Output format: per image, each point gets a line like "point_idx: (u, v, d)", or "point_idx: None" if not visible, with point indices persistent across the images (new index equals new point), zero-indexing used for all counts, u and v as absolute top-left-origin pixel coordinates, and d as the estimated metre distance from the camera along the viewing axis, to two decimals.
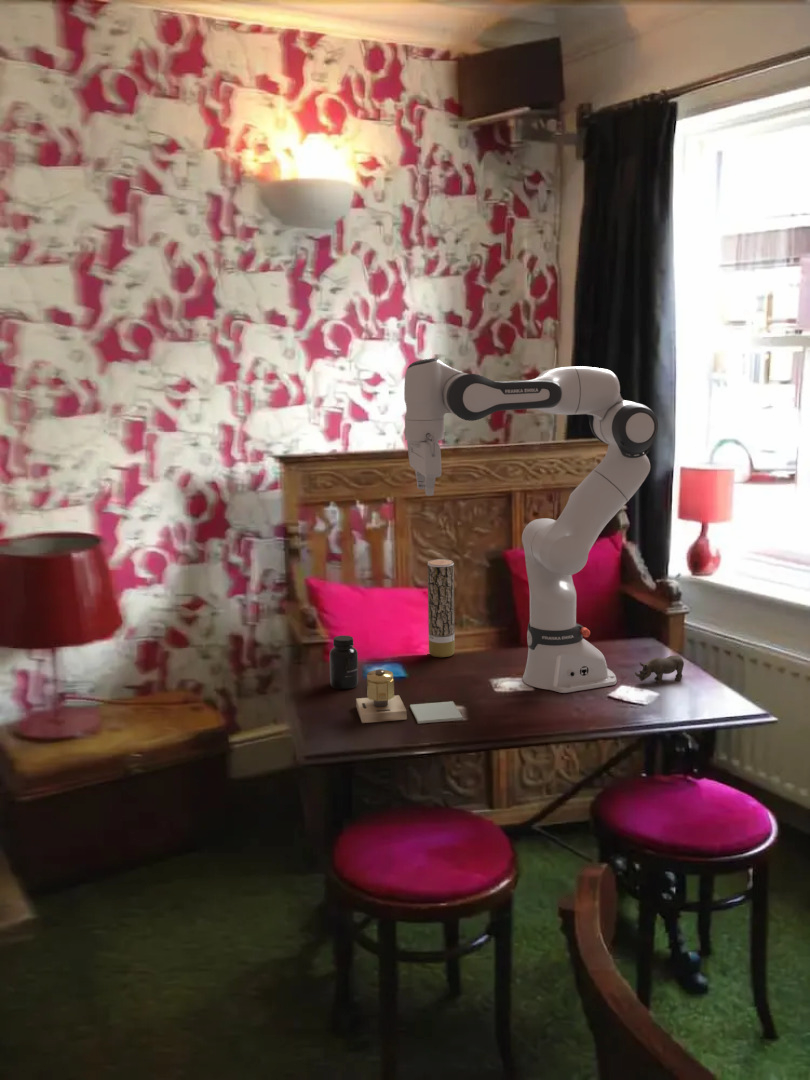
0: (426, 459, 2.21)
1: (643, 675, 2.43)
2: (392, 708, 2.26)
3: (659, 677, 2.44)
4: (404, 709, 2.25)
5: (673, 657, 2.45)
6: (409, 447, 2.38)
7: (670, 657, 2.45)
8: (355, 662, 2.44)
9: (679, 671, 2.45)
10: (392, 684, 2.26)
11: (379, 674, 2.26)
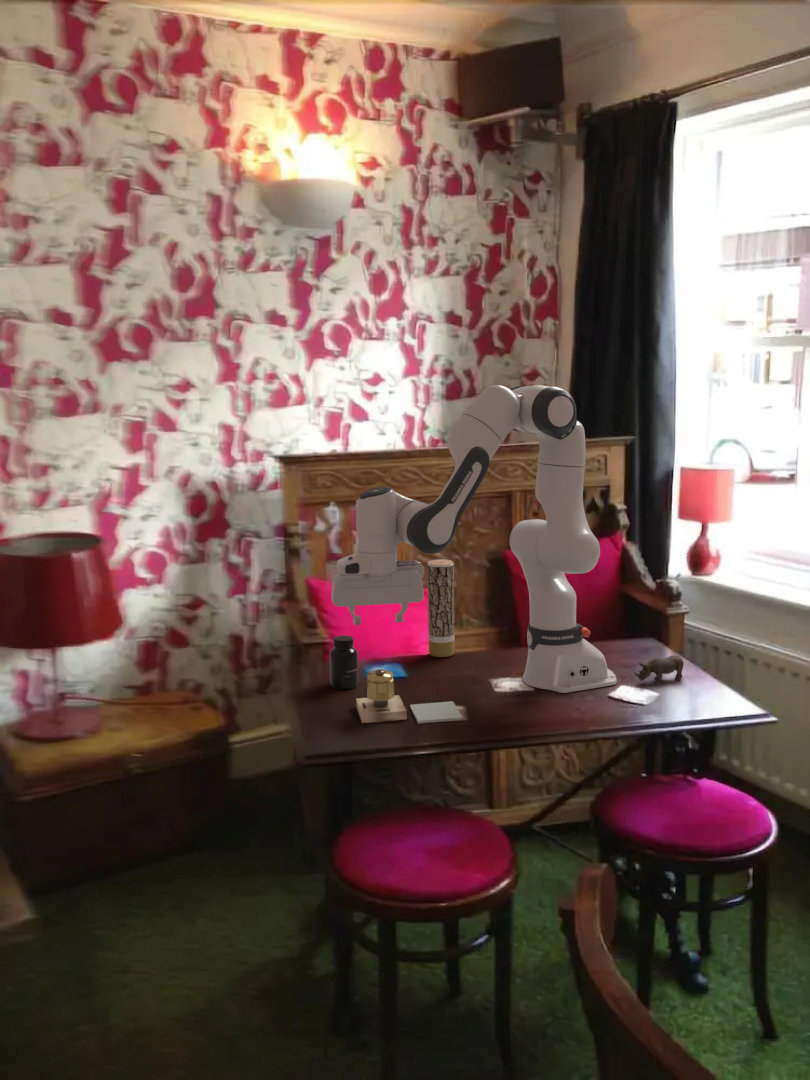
0: (422, 584, 2.23)
1: (643, 675, 2.43)
2: (392, 708, 2.26)
3: (659, 677, 2.44)
4: (404, 709, 2.25)
5: (673, 657, 2.45)
6: (342, 585, 2.19)
7: (670, 657, 2.45)
8: (355, 662, 2.44)
9: (679, 671, 2.45)
10: (392, 684, 2.26)
11: (379, 674, 2.26)
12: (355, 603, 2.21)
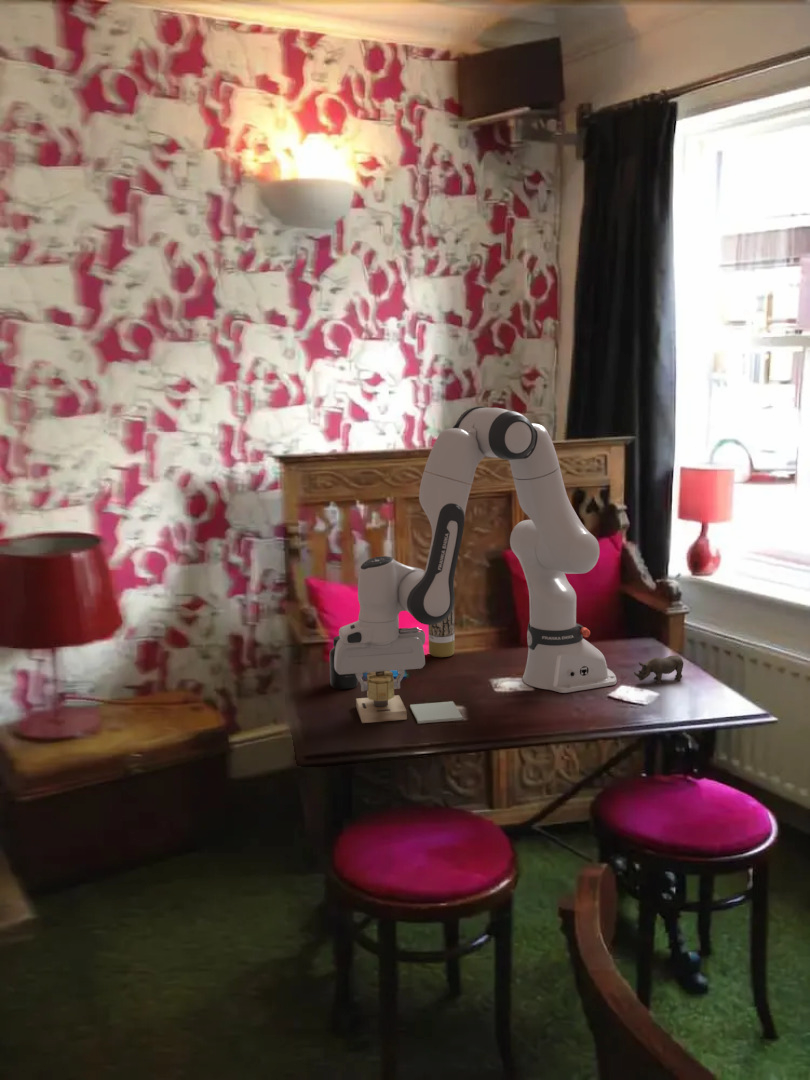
0: (423, 650, 2.26)
1: (642, 675, 2.43)
2: (392, 708, 2.26)
3: (658, 677, 2.44)
4: (404, 709, 2.25)
5: (673, 657, 2.45)
6: (344, 654, 2.22)
7: (670, 657, 2.45)
8: None
9: (678, 671, 2.45)
10: (392, 684, 2.26)
11: (379, 674, 2.26)
12: (357, 671, 2.24)
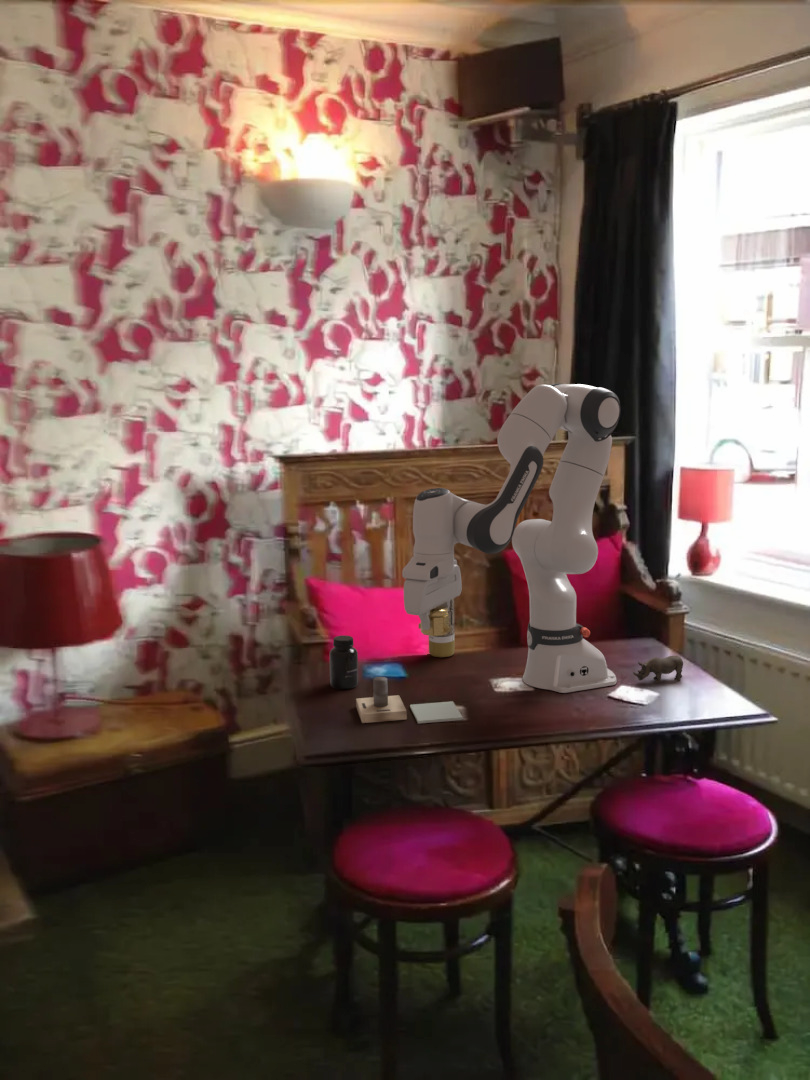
0: None
1: (641, 675, 2.44)
2: (392, 708, 2.26)
3: (658, 677, 2.44)
4: (404, 709, 2.25)
5: (672, 657, 2.45)
6: (424, 592, 2.14)
7: (669, 657, 2.45)
8: (355, 662, 2.44)
9: (678, 671, 2.45)
10: None
11: (437, 608, 2.22)
12: (430, 608, 2.17)
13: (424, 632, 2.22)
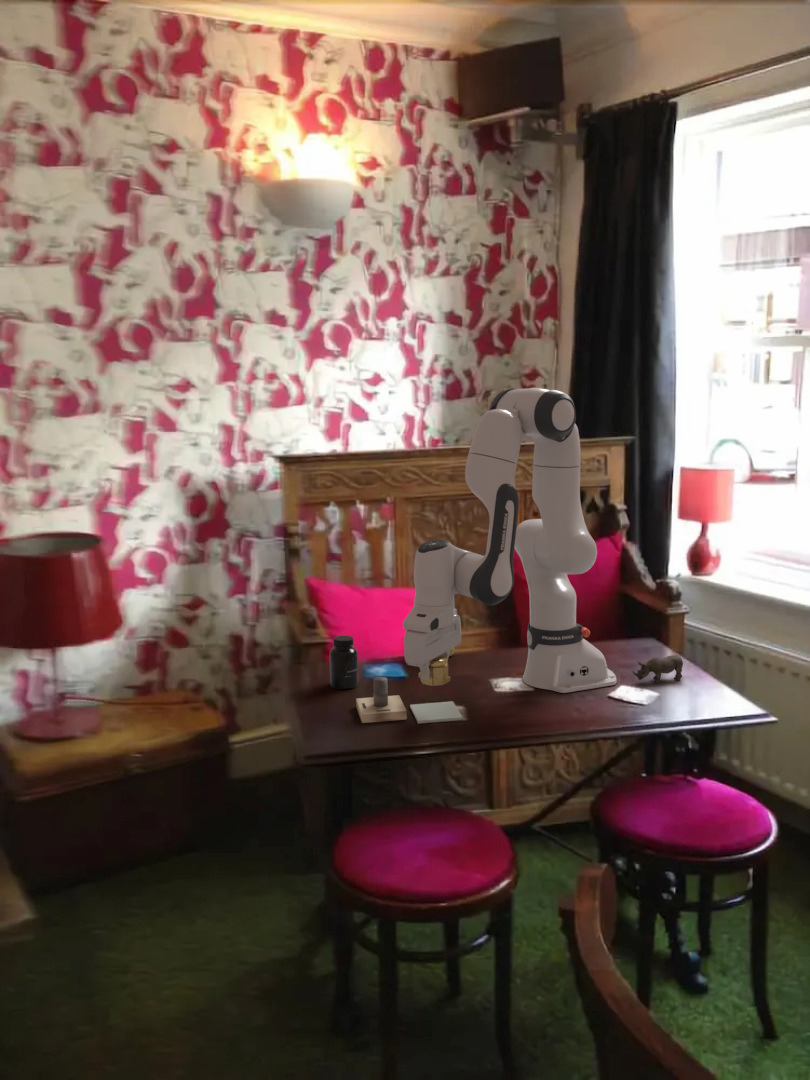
0: None
1: (641, 674, 2.44)
2: (392, 708, 2.26)
3: (657, 676, 2.45)
4: (404, 709, 2.25)
5: (672, 657, 2.45)
6: (424, 644, 2.16)
7: (669, 657, 2.45)
8: (355, 662, 2.44)
9: (678, 671, 2.45)
10: None
11: (437, 658, 2.24)
12: (430, 659, 2.19)
13: (424, 682, 2.24)
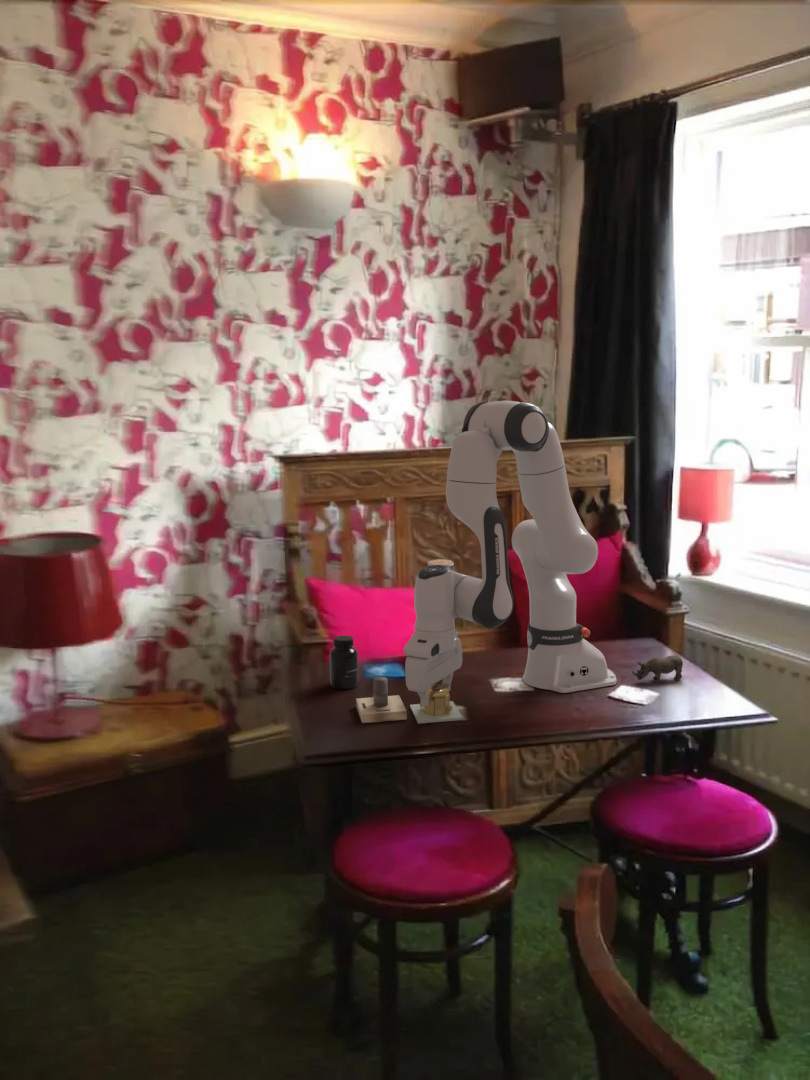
0: None
1: (640, 674, 2.44)
2: (392, 708, 2.26)
3: (657, 677, 2.45)
4: (404, 709, 2.25)
5: (672, 657, 2.45)
6: (425, 670, 2.17)
7: (669, 657, 2.45)
8: (355, 662, 2.44)
9: (678, 671, 2.45)
10: None
11: (438, 688, 2.26)
12: (431, 684, 2.21)
13: (425, 712, 2.26)
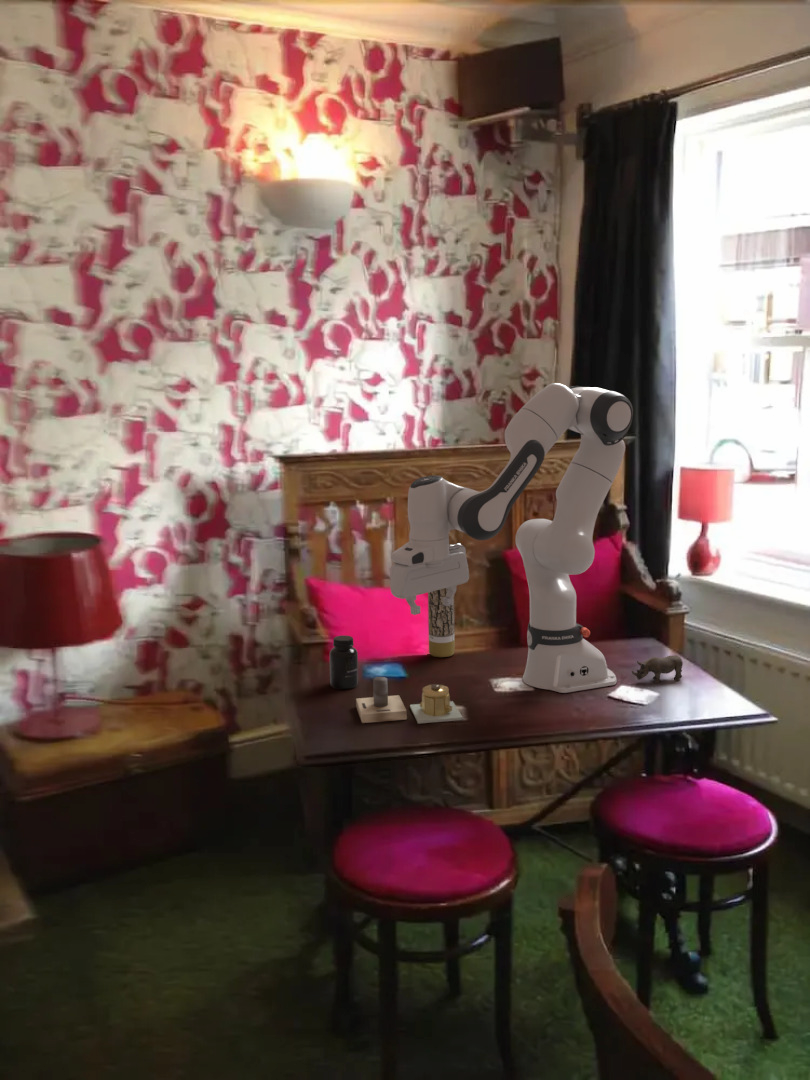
0: (467, 564, 2.31)
1: (640, 674, 2.44)
2: (392, 708, 2.26)
3: (657, 676, 2.45)
4: (404, 709, 2.25)
5: (672, 657, 2.45)
6: (407, 577, 2.20)
7: (669, 657, 2.45)
8: (355, 662, 2.44)
9: (677, 671, 2.45)
10: None
11: (438, 688, 2.26)
12: (417, 592, 2.23)
13: (425, 712, 2.26)
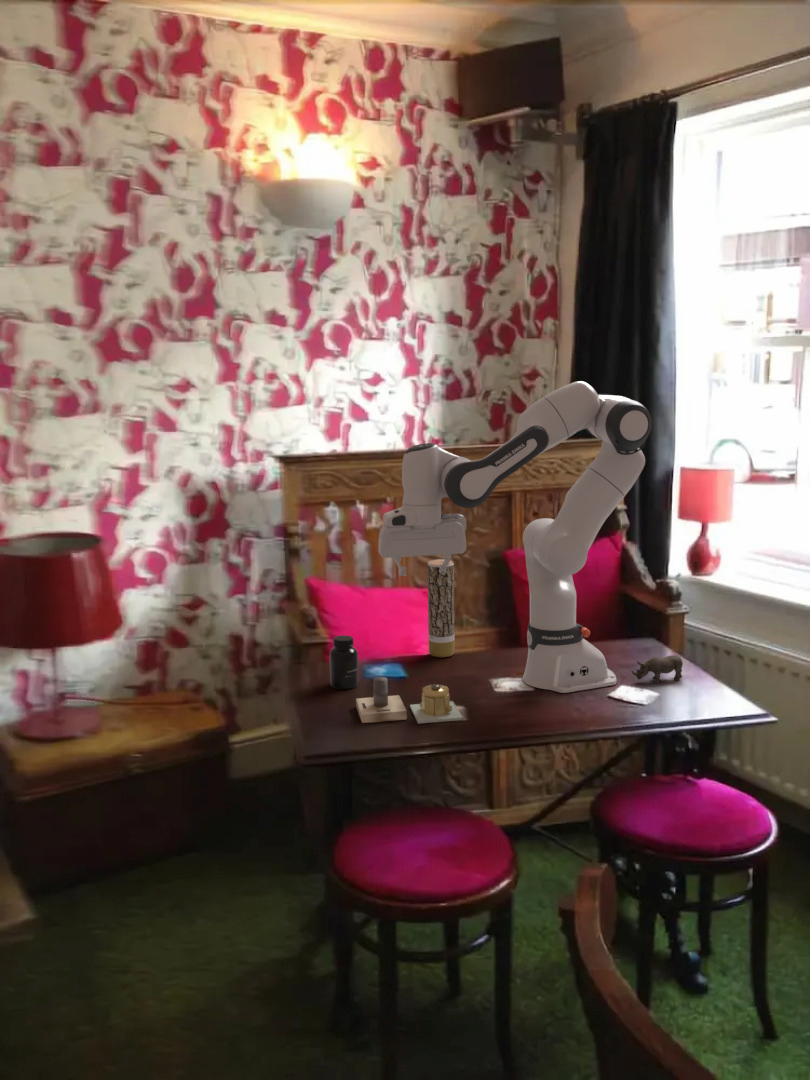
0: (464, 536, 2.33)
1: (640, 674, 2.44)
2: (392, 708, 2.26)
3: (656, 676, 2.45)
4: (404, 709, 2.25)
5: (671, 657, 2.45)
6: (388, 537, 2.29)
7: (668, 657, 2.45)
8: (355, 662, 2.44)
9: (677, 671, 2.45)
10: None
11: (438, 688, 2.26)
12: (401, 554, 2.31)
13: (425, 712, 2.26)
